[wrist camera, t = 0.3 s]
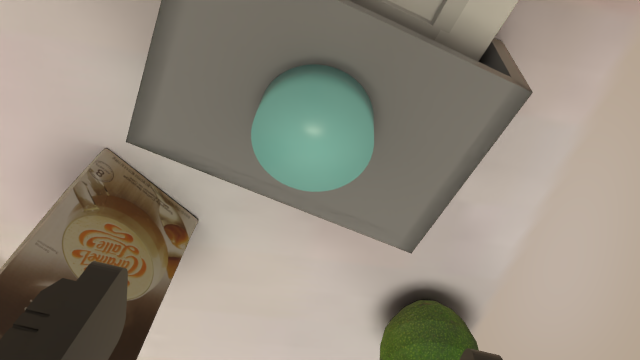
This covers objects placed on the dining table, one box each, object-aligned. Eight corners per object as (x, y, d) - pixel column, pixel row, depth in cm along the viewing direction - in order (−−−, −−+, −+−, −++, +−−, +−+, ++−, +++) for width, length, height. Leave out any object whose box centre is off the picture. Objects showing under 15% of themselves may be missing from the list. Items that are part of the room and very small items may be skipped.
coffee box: (203, 218, 41) (125, 407, 28) (156, 257, 44) (65, 445, 31) (104, 143, 38) (-37, 318, 25) (61, 190, 41) (-87, 369, 27)
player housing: (218, -96, 28) (180, -74, 22) (502, 42, 31) (532, 92, 26) (165, 88, 35) (125, 141, 29) (404, 187, 38) (411, 253, 32)
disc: (283, 44, 25) (276, 64, 23) (394, 93, 26) (396, 116, 24) (244, 141, 28) (234, 165, 26) (343, 181, 29) (341, 207, 28)
